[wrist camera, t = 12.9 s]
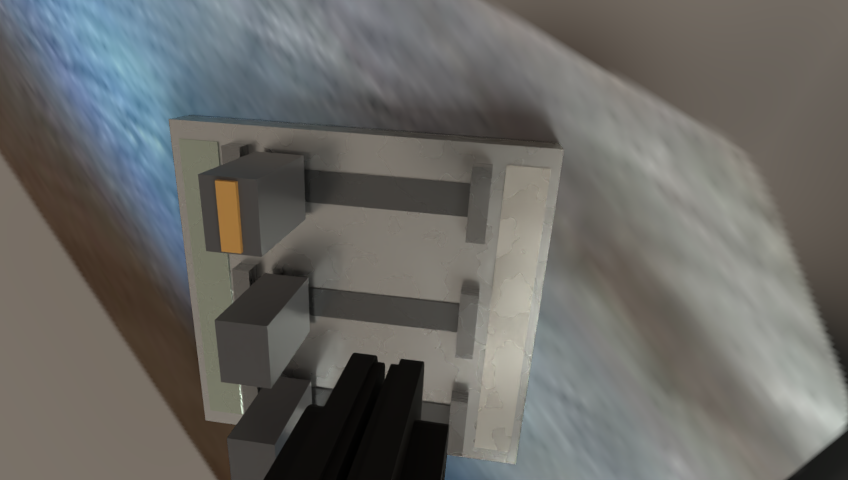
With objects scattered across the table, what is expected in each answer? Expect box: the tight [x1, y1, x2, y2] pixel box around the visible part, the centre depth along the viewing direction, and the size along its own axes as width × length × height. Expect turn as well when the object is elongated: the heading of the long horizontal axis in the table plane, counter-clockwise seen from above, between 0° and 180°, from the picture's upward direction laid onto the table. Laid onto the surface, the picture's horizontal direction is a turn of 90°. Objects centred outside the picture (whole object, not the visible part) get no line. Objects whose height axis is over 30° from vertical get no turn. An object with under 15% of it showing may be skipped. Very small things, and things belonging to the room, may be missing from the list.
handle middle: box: [215, 273, 310, 389], centre depth 26 cm, size 4×3×6 cm
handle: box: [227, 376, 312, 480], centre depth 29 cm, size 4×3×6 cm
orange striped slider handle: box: [198, 151, 306, 257], centre depth 24 cm, size 4×3×6 cm
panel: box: [169, 115, 564, 464], centre depth 30 cm, size 20×21×3 cm
